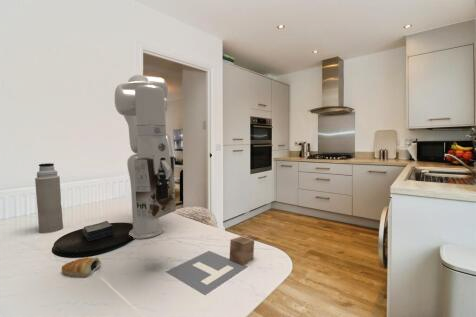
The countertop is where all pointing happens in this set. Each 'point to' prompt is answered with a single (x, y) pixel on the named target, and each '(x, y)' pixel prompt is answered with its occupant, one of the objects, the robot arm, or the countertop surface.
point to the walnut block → (241, 250)
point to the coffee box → (152, 191)
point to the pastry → (81, 267)
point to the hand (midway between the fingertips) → (154, 196)
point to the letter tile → (206, 271)
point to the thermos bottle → (48, 199)
